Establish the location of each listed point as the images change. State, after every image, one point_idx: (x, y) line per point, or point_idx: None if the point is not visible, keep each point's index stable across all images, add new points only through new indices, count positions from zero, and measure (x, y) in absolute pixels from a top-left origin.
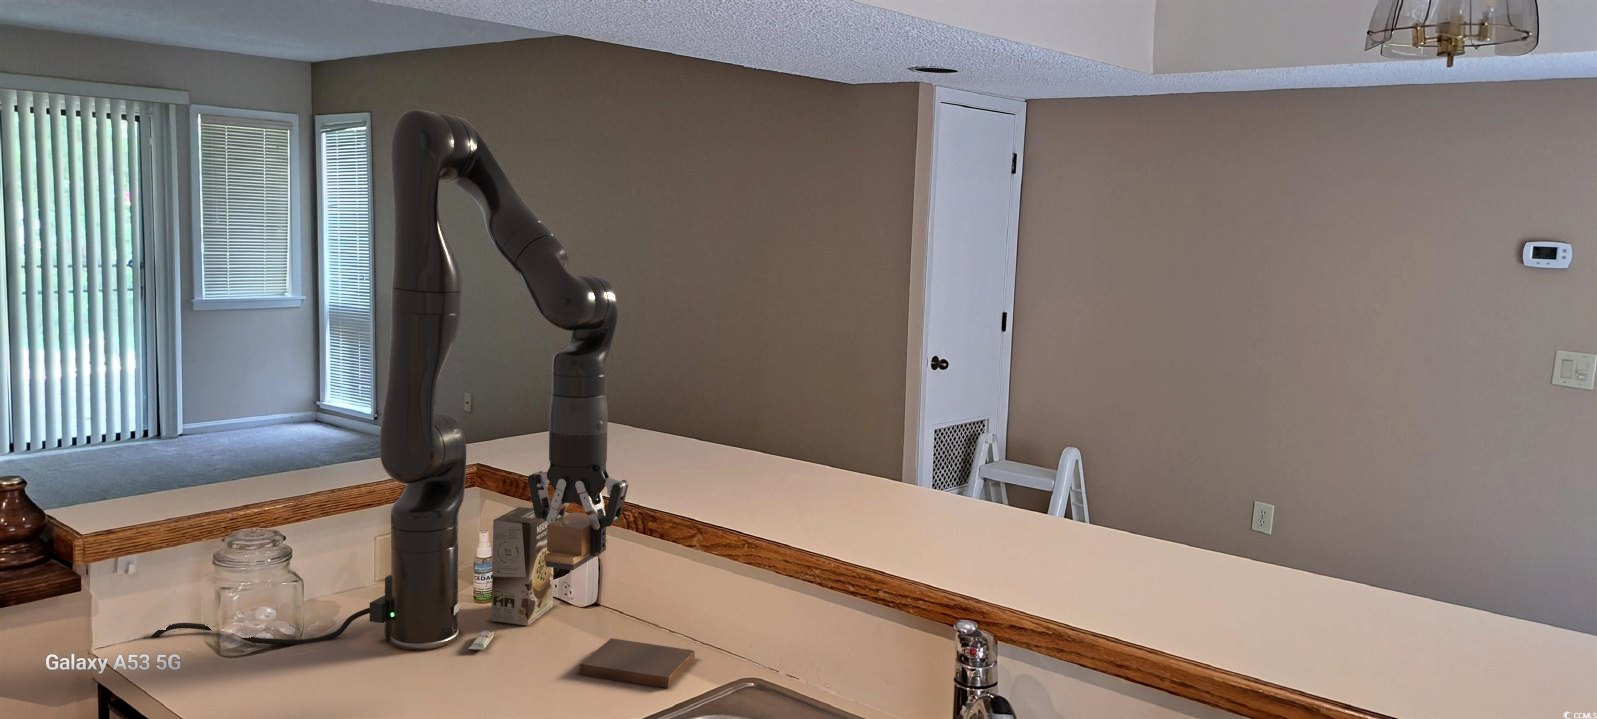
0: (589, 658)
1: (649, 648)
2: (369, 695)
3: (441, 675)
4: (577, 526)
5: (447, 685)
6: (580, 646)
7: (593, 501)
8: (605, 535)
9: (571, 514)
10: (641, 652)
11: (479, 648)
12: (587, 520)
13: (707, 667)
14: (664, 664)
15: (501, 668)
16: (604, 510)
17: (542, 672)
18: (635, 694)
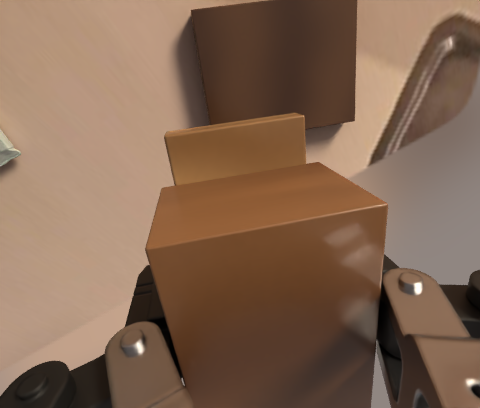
0: (215, 119)
1: (281, 24)
2: (32, 320)
3: (49, 241)
4: (336, 405)
5: (85, 258)
6: (138, 37)
7: (429, 401)
8: (385, 258)
9: (178, 291)
10: (276, 49)
11: (12, 156)
12: (332, 325)
13: (375, 14)
14: (332, 79)
15: (99, 182)
16: (465, 328)
17: (161, 163)
18: (314, 157)
